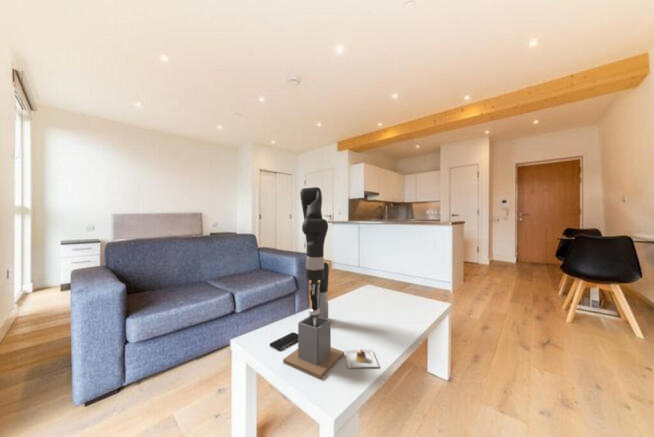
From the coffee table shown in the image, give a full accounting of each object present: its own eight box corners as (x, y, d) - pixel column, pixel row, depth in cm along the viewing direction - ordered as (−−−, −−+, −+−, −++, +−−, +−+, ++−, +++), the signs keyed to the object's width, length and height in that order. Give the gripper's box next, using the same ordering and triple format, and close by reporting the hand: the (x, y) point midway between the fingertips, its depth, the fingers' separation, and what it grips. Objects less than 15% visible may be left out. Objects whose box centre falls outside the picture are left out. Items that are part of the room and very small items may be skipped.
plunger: (312, 343, 103) (312, 304, 103) (327, 348, 99) (327, 308, 99) (301, 351, 96) (301, 310, 97) (316, 357, 92) (316, 314, 92)
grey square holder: (310, 343, 110) (310, 309, 110) (344, 355, 100) (344, 318, 100) (283, 362, 95) (283, 324, 95) (320, 379, 85) (320, 336, 85)
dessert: (372, 352, 104) (372, 341, 104) (379, 369, 92) (379, 357, 92) (344, 352, 103) (344, 341, 103) (348, 370, 91) (348, 357, 91)
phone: (304, 336, 115) (279, 349, 103) (304, 339, 115) (279, 352, 103) (292, 331, 120) (268, 343, 108) (292, 334, 120) (268, 346, 108)
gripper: (308, 264, 105) (307, 303, 104) (303, 270, 91) (303, 315, 91) (325, 264, 104) (324, 303, 104) (322, 270, 91) (322, 315, 91)
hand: (314, 309), depth 98 cm, fingers closed
